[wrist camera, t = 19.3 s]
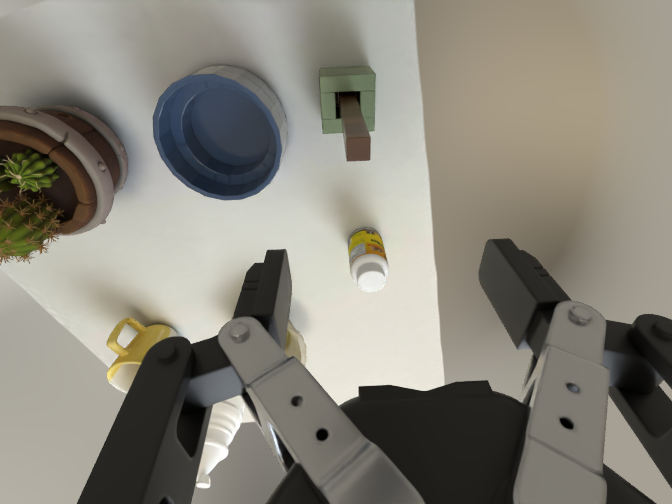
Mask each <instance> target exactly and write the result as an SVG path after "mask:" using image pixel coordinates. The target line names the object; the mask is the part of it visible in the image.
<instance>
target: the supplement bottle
mask: <svg viewBox="0 0 672 504" xmlns="http://www.w3.org/2000/svg"><path fill="white" fill-rule="evenodd" d="M348 252H349V263H350V273H351V276H352V278H353V280H354V281H355V282H357V284H358V286H359V288H360V289H361V290H363V291H365V292H376V291H378V290H380V289H382V288H383V286H384V285H385V283H386V277H387V275H388V272H389V266H388V262H387V258H386V254H385V250H384V246H383V241H382V238H381V236H380V234H379V233H378V232H377V231H375V230H373V229H370V228H362V229H359V230H356V231H355V232H353V233H352V234H351V236H350V237H349V240H348Z"/></svg>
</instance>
